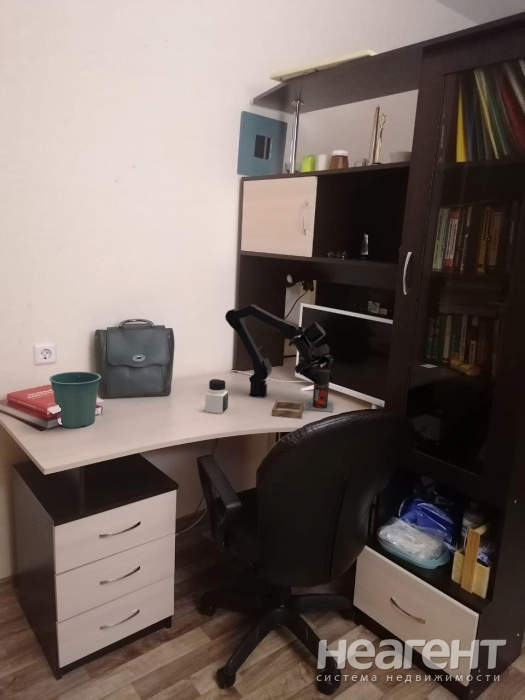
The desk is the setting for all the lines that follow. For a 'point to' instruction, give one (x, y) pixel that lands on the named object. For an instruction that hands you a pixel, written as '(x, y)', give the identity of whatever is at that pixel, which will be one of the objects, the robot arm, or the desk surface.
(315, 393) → the deodorant
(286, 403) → the walnut collar
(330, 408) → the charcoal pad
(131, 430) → the desk surface
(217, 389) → the medicine bottle
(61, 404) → the flower pot
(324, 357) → the robot arm
